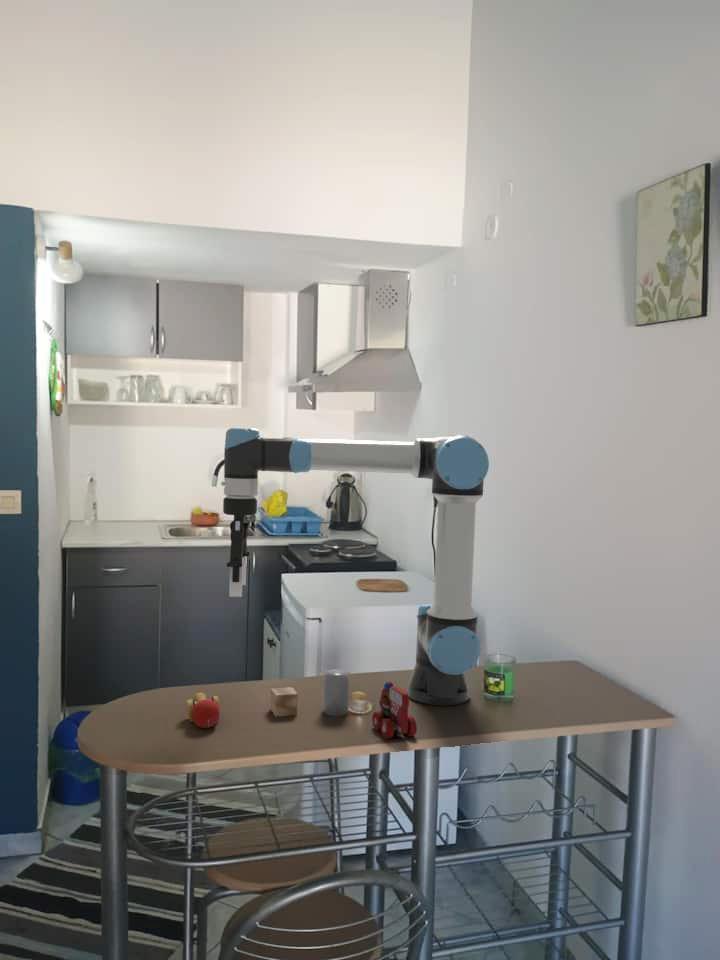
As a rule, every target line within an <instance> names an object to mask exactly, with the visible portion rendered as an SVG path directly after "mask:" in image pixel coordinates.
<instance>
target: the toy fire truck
mask: <svg viewBox="0 0 720 960" xmlns="http://www.w3.org/2000/svg"><path fill="white" fill-rule="evenodd" d="M409 701H410V697H409V696H408V692H406V691H404V690H402V689H401V688H399V687H398V686H395V685H394V683H393V682H391V681H387V682H385V683H384V686H383V688H382V689H381V694H380V699H379V708H378V710H379V711H374V712H373V714H372V717H371V719H372V721H371V722H372V726H373V728H374V730H375V731H380V733H381V735H382V738H384V739H385V738H386V740H387V739H392V738H393V736H394V733H395V734H400V735H402V734H405V736H407V737H413V736H415V735H416V734H417V726H418V725H417V722H416V719H415V717H414V716H412V715H409V713H408V712H409V706H410V702H409Z"/></svg>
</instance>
